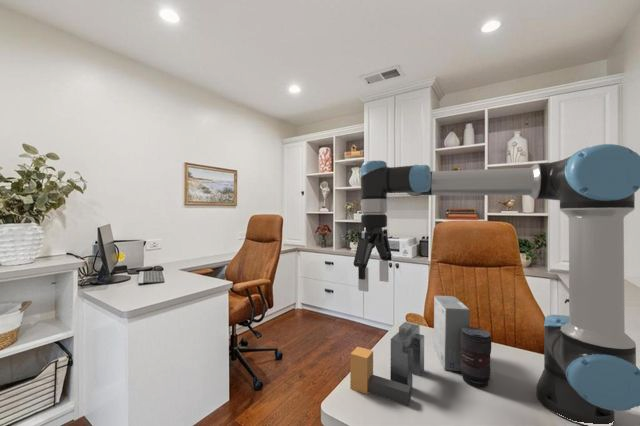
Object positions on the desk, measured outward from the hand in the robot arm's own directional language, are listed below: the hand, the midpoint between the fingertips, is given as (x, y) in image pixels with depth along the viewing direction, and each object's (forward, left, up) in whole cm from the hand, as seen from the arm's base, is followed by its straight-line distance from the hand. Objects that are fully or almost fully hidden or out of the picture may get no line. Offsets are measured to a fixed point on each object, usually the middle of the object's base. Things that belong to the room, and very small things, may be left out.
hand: (374, 285), depth 83 cm
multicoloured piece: (-4, +3, -29) cm, 29 cm away
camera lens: (-24, -19, -29) cm, 42 cm away
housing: (-7, -8, -29) cm, 31 cm away
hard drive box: (-15, -28, -29) cm, 43 cm away
